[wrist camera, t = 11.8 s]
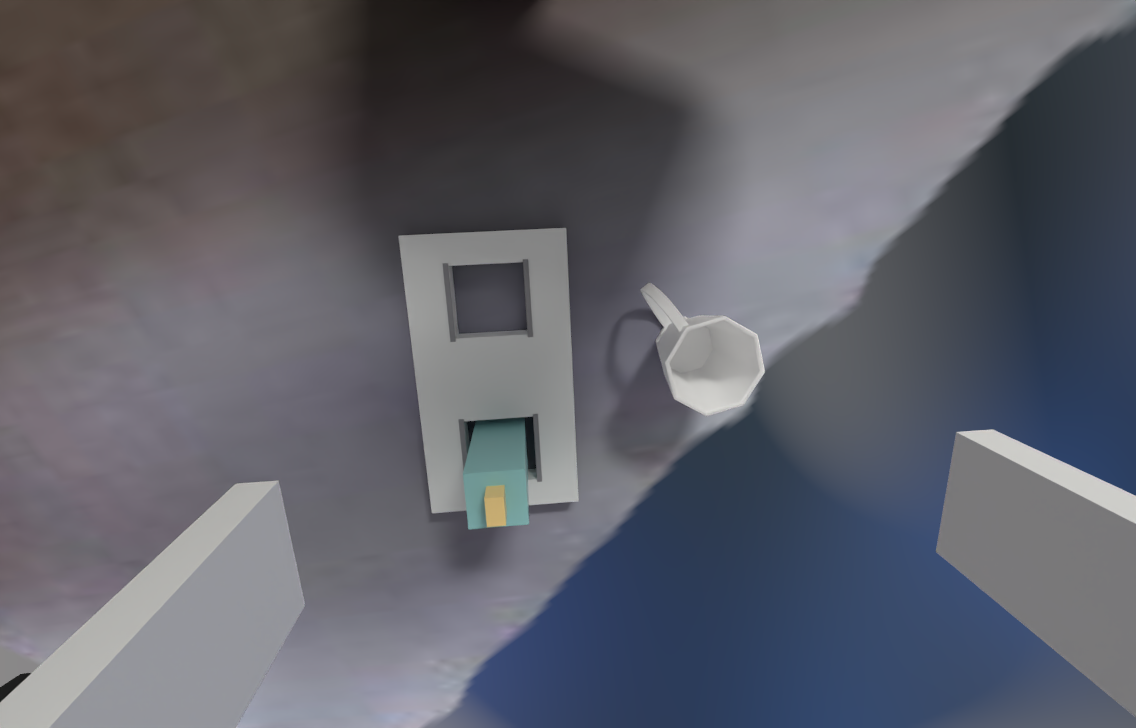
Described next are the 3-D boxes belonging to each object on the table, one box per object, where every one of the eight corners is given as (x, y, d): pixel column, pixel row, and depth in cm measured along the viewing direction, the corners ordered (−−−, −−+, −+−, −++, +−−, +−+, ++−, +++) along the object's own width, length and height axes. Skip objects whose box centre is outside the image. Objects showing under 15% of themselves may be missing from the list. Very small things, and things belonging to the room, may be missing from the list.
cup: (671, 400, 45) (703, 436, 37) (599, 308, 43) (617, 326, 35) (739, 348, 44) (785, 374, 36) (670, 252, 42) (703, 257, 34)
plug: (476, 420, 44) (460, 485, 33) (524, 416, 44) (525, 480, 33) (480, 465, 45) (466, 543, 34) (527, 461, 45) (529, 537, 34)
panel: (404, 235, 40) (397, 235, 38) (564, 227, 41) (566, 227, 39) (435, 501, 45) (431, 514, 43) (576, 489, 46) (578, 501, 44)
